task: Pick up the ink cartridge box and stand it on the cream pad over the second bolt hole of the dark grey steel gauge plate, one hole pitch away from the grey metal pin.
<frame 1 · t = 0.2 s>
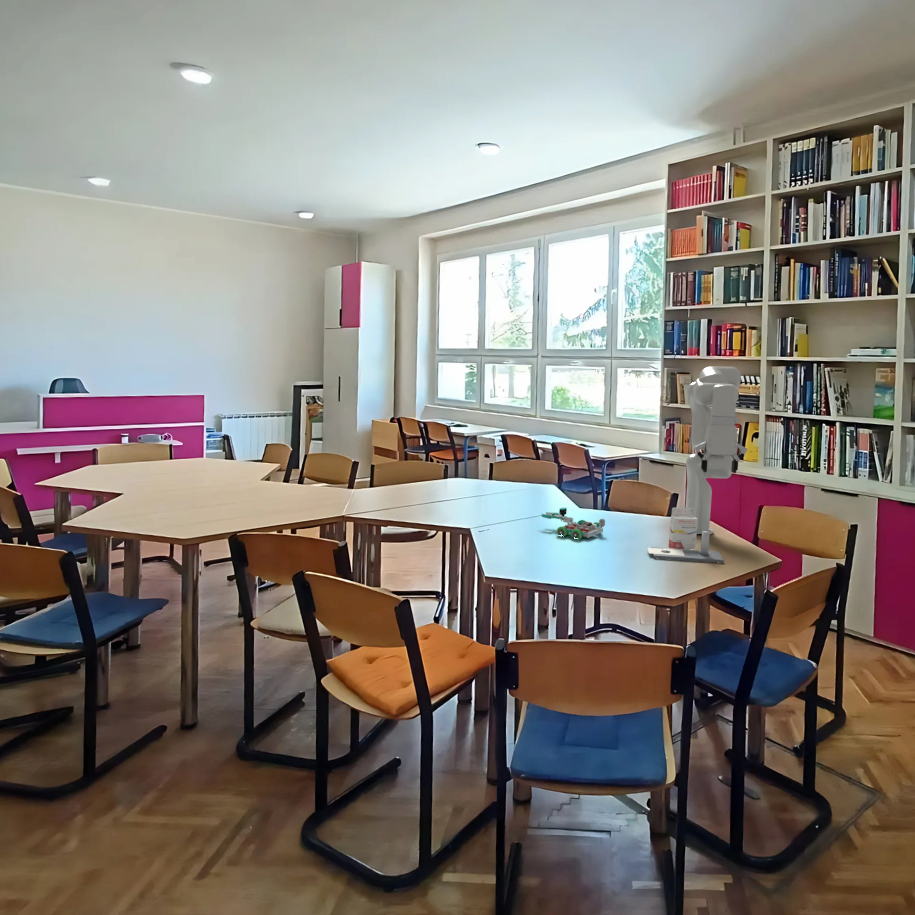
hand: (719, 472, 254), 31 cm above the table, tool pointing down, fingers open, 9 cm apart
ink cartridge box: (682, 549, 273), on the table
gauge plate: (686, 556, 262), on the table
robot kit: (569, 533, 294), on the table
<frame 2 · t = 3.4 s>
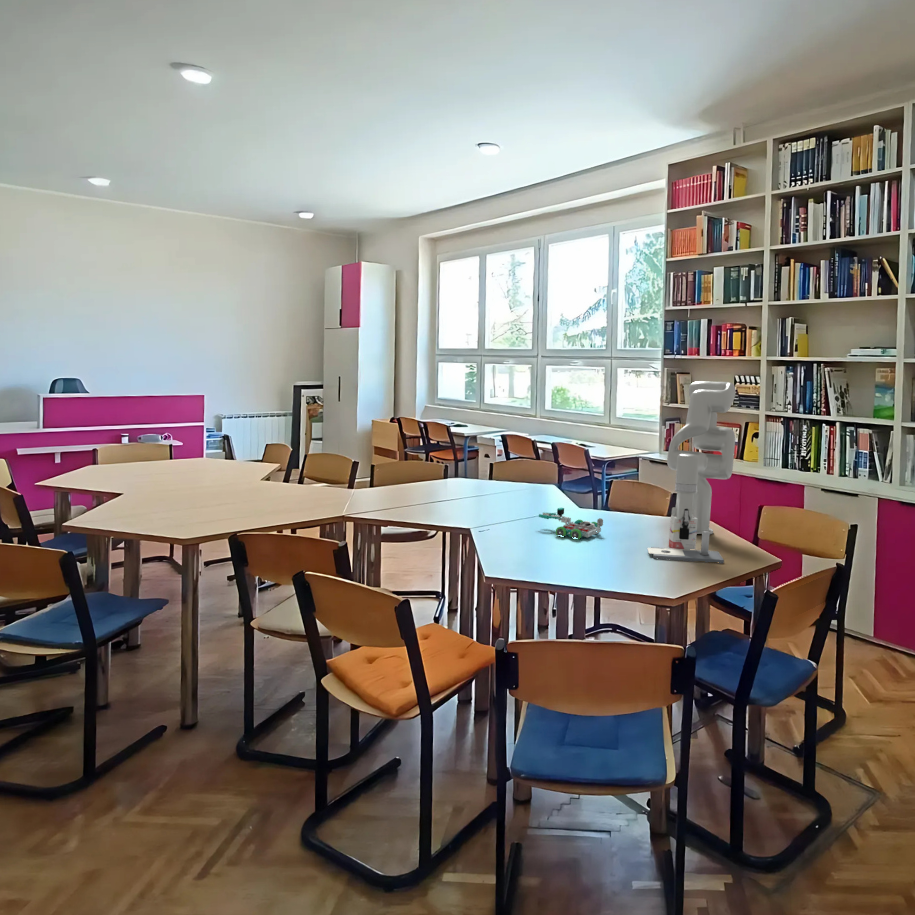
hand: (682, 536, 273), 4 cm above the table, tool pointing down, fingers closed on ink cartridge box, 5 cm apart
ink cartridge box: (682, 548, 273), on the table, touching gripper
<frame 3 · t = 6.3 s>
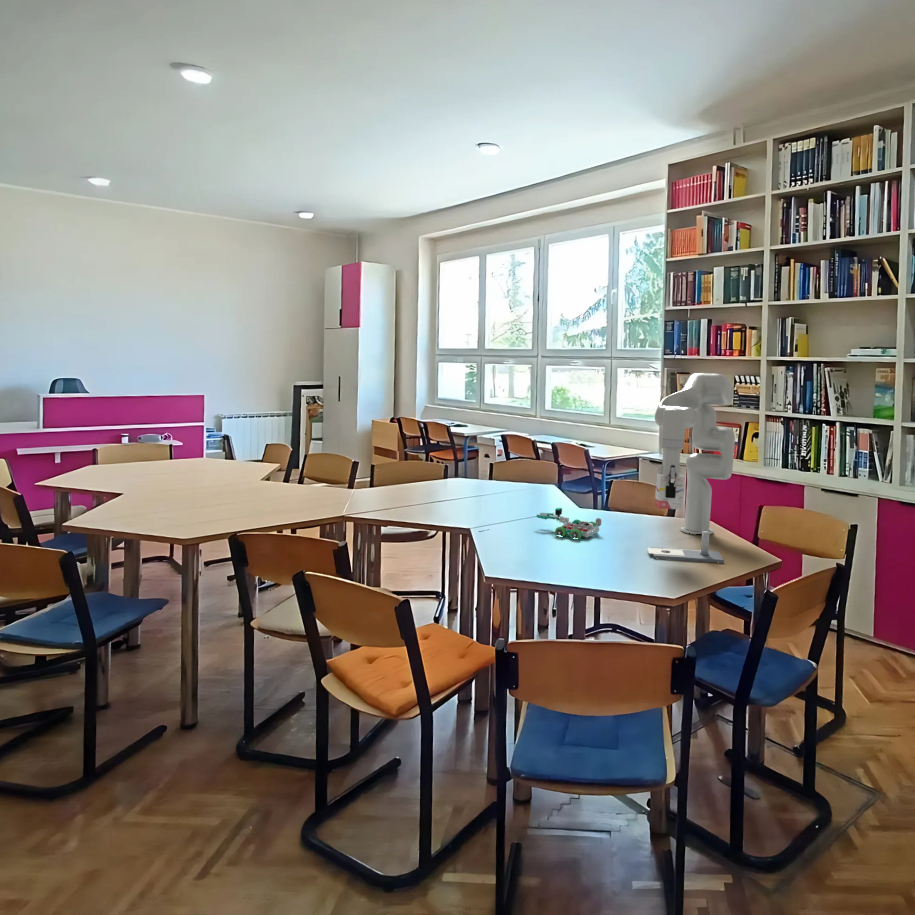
hand: (669, 495, 260), 21 cm above the table, tool pointing down, fingers closed on ink cartridge box, 5 cm apart
ink cartridge box: (668, 508, 261), point 17 cm above the table, touching gripper
when the fingers open (7 cm above the table, at t = 9.3 s): ink cartridge box drops 1 cm, resting on gauge plate.
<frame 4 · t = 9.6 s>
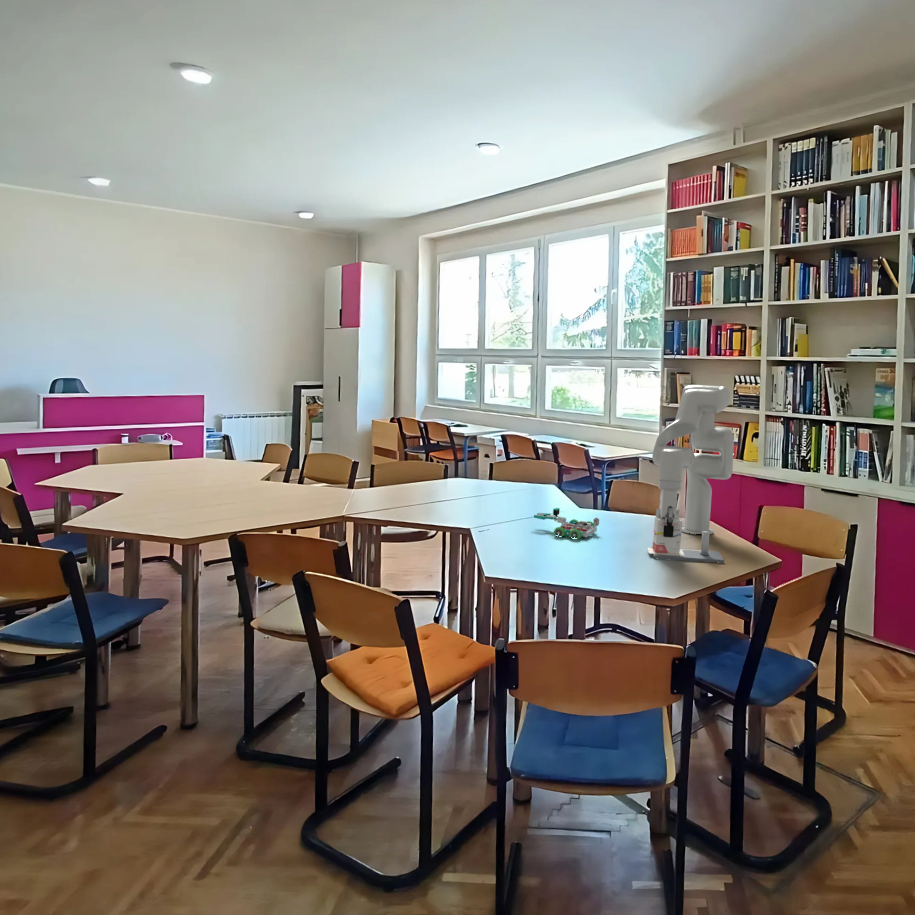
hand: (666, 533, 262), 8 cm above the table, tool pointing down, fingers open, 8 cm apart
ink cartridge box: (666, 552, 262), point 1 cm above the table, touching gauge plate
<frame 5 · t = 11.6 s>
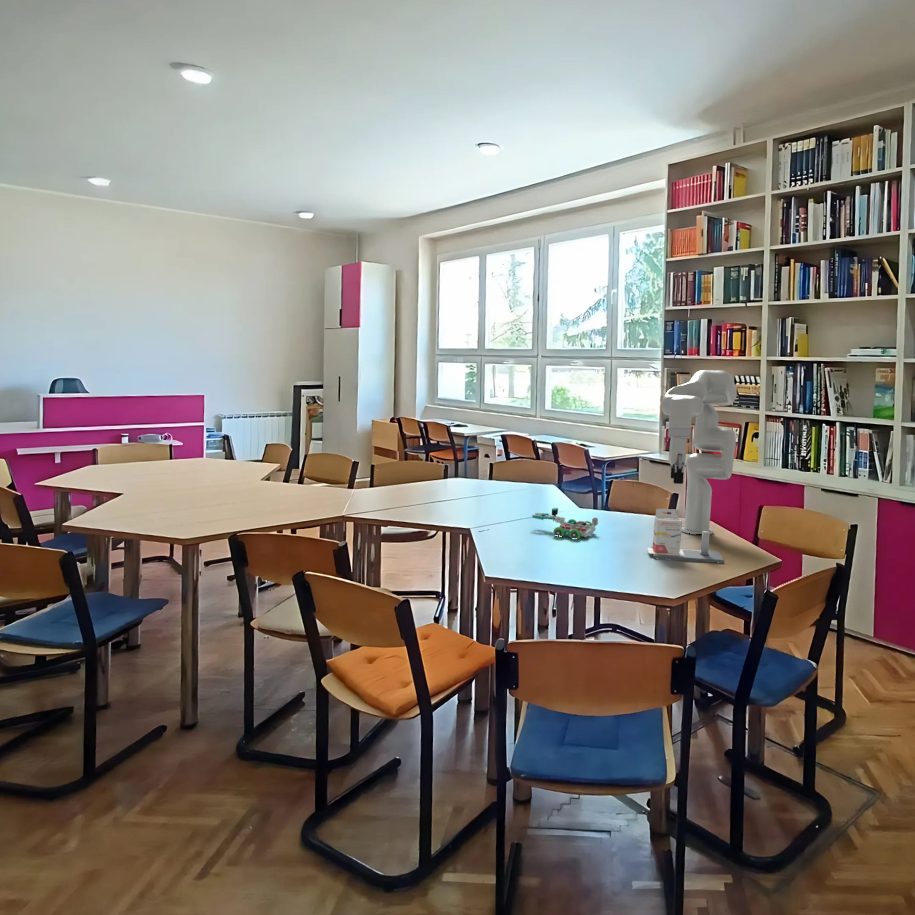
hand: (676, 480, 265), 26 cm above the table, tool pointing down, fingers open, 9 cm apart
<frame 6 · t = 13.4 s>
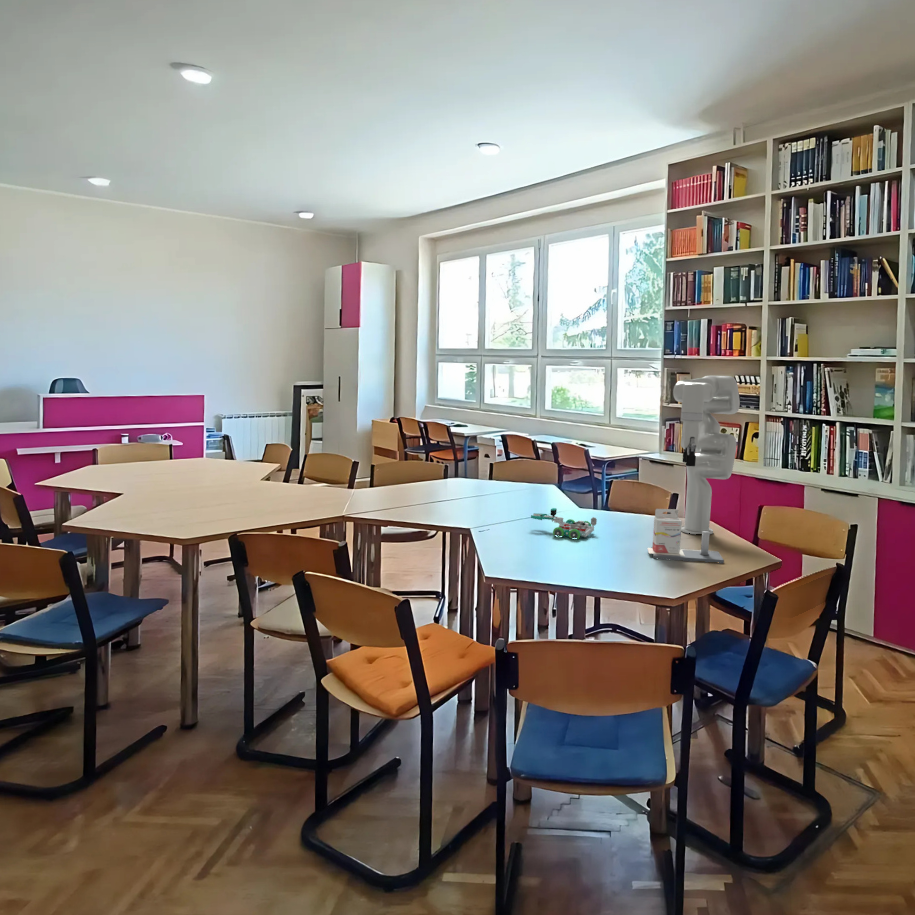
hand: (688, 464, 274), 30 cm above the table, tool pointing down, fingers open, 9 cm apart
at the end: ink cartridge box 0.1 cm from the target spot on the gauge plate, point 1.2 cm above the gauge plate's base; ink cartridge box tilted 1°; the gripper is holding nothing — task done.
